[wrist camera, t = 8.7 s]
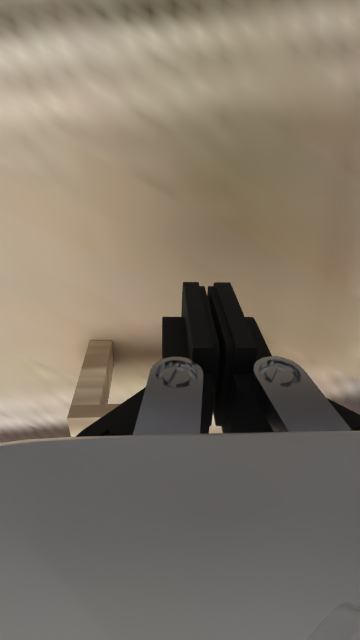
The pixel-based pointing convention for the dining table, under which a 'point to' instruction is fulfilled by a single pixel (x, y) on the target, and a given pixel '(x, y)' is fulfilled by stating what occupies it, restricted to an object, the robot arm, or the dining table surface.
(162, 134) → the dining table surface
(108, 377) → the bridge
